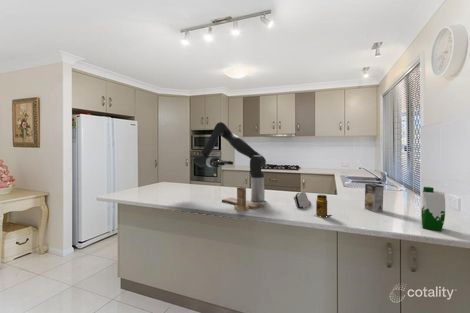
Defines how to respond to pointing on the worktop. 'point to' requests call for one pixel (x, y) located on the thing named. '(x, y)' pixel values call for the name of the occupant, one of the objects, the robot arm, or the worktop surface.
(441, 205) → the milk carton
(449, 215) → the worktop surface
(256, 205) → the walnut board
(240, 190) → the upright board on stand
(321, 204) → the condiment
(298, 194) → the light grey flat case
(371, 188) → the coffee box
